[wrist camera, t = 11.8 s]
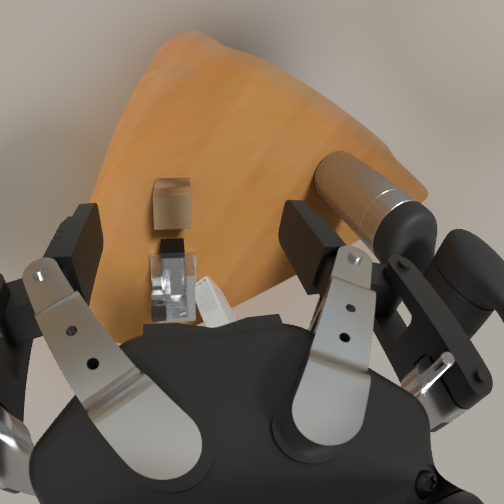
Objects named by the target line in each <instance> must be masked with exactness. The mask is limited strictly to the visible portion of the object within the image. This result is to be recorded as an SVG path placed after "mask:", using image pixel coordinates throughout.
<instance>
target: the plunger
mask: <svg viewBox="0 0 504 504" xmlns="http://www.w3.org/2000/svg"><path fill="white" fill-rule="evenodd" d="M160 257H161V259H164V262H165V275H166V290H151V300H160V299H171V295H183V294H182V268H181V258H185V250H184V239H183V238H178V239H161V244H160Z"/></svg>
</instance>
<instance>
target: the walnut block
mask: <svg viewBox="0 0 504 504" xmlns="http://www.w3.org/2000/svg"><path fill="white" fill-rule="evenodd" d="M191 199H192V194H191V187H190V179H189V178H161V179H155V185H154V191H153V215H154V230H165V229H191Z"/></svg>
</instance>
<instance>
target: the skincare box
mask: <svg viewBox="0 0 504 504" xmlns="http://www.w3.org/2000/svg"><path fill="white" fill-rule="evenodd" d="M195 300H196V304H197V307H198V309H199V312H200V314H201V317H202V319H203V321H204V324H205V326H206V327H211V328H214V327H219V326H222V325H225V324H229V323H232V322H235V321H237V319H236V317H235V315H234V313H233V311H232V309H231V307H230V306H229V304H228V302H227V300H226V298H225V296H224V294H223V292H222V291H221V290H220V289H219V287H218V286H217V285H216V284H215V283H214V282H213V281H212V280H211V279H210V278H209V277H208V276H205V277H204V278H202V279H200V280H199V281H197V282H196V286H195Z"/></svg>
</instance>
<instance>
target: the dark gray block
mask: <svg viewBox="0 0 504 504" xmlns="http://www.w3.org/2000/svg"><path fill="white" fill-rule="evenodd" d="M154 321H167V317H166V305H164V306H152V322H154Z"/></svg>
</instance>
